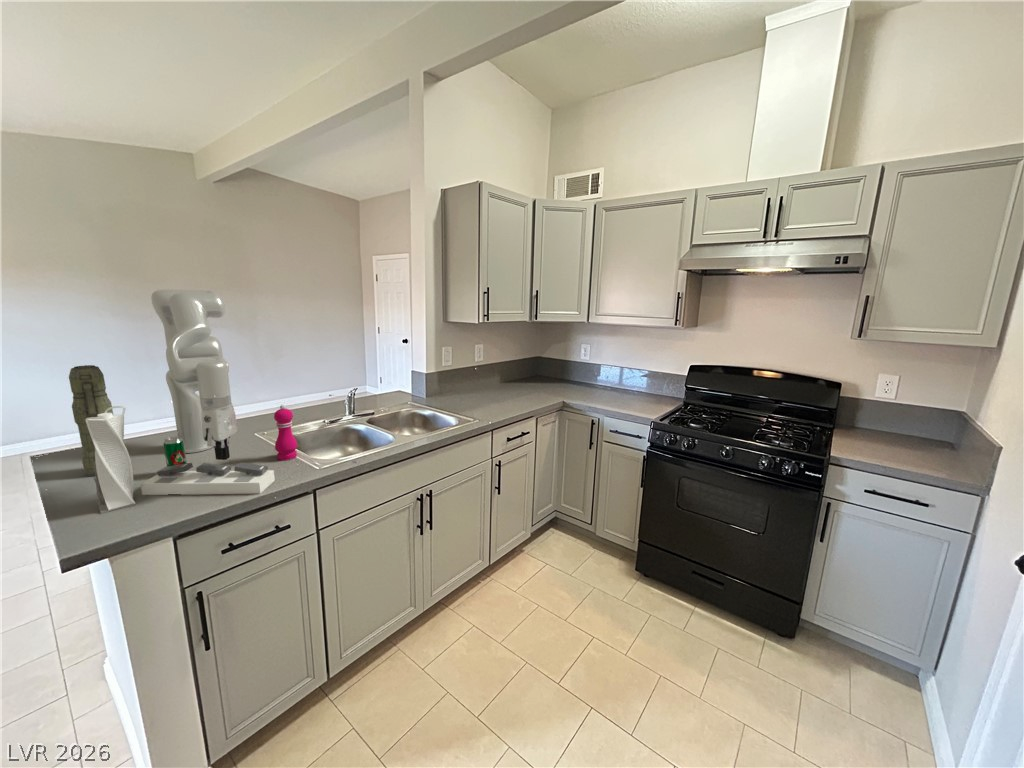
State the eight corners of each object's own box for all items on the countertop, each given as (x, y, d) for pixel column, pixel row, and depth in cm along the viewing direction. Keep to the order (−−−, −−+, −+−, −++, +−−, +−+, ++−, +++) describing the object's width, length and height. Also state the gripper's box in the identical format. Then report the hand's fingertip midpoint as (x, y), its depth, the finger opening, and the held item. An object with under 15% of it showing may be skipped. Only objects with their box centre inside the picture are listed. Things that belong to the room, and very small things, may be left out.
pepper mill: (293, 452, 155) (288, 401, 150) (301, 457, 150) (297, 404, 146) (272, 457, 149) (267, 404, 145) (281, 462, 145) (275, 408, 140)
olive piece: (88, 480, 127) (66, 370, 120) (82, 470, 134) (61, 365, 127) (126, 471, 134) (107, 367, 127) (119, 462, 141) (101, 362, 134)
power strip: (142, 494, 119) (140, 483, 118) (165, 481, 128) (163, 470, 127) (260, 493, 122) (259, 482, 122) (274, 480, 131) (273, 469, 130)
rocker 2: (234, 472, 125) (234, 466, 125) (240, 467, 128) (241, 462, 128) (261, 476, 126) (262, 470, 126) (267, 471, 130) (267, 465, 129)
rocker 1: (158, 477, 123) (156, 471, 123) (167, 472, 127) (165, 466, 126) (185, 473, 124) (183, 467, 123) (193, 468, 127) (191, 462, 127)
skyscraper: (138, 494, 119) (122, 402, 114) (143, 504, 114) (126, 408, 108) (98, 504, 113) (79, 408, 107) (101, 515, 108) (81, 414, 102)
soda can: (171, 470, 136) (166, 436, 133) (190, 468, 137) (185, 435, 135) (165, 476, 131) (159, 441, 129) (184, 474, 133) (179, 440, 130)
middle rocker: (196, 473, 124) (196, 467, 124) (203, 468, 127) (204, 462, 127) (224, 476, 125) (224, 470, 125) (230, 471, 128) (231, 465, 128)
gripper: (213, 409, 115) (221, 469, 119) (243, 395, 130) (248, 449, 134) (185, 408, 114) (193, 468, 118) (218, 395, 129) (224, 449, 133)
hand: (222, 458), depth 126 cm, fingers closed
